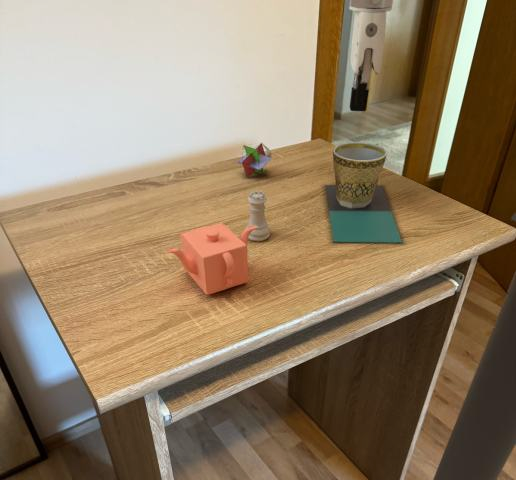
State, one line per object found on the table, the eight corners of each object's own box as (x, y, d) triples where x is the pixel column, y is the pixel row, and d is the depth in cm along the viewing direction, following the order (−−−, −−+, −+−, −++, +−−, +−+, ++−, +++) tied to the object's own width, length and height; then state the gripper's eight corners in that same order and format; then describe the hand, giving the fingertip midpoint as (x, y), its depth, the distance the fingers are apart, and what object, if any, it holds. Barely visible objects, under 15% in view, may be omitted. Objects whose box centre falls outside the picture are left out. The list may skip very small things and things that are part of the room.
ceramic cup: (364, 217, 92) (371, 165, 86) (319, 203, 97) (323, 153, 90) (393, 193, 100) (402, 144, 94) (351, 182, 105) (356, 134, 98)
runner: (382, 186, 103) (382, 185, 103) (402, 243, 85) (402, 242, 85) (325, 186, 104) (325, 185, 104) (333, 242, 86) (333, 241, 86)
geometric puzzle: (248, 176, 103) (264, 139, 101) (226, 167, 107) (241, 132, 105) (267, 187, 109) (282, 152, 107) (245, 179, 112) (259, 145, 111)
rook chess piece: (270, 230, 90) (270, 188, 84) (270, 242, 86) (270, 199, 81) (246, 230, 90) (244, 188, 84) (245, 242, 86) (243, 199, 81)
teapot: (158, 274, 79) (150, 227, 73) (240, 250, 84) (238, 204, 79) (187, 312, 71) (181, 263, 66) (275, 283, 77) (276, 235, 71)
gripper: (400, 5, 80) (381, 122, 93) (386, -6, 92) (371, 99, 104) (354, 5, 81) (342, 121, 93) (346, -6, 92) (336, 99, 104)
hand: (357, 109), depth 98 cm, fingers closed
